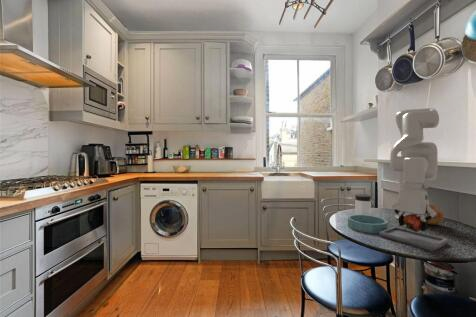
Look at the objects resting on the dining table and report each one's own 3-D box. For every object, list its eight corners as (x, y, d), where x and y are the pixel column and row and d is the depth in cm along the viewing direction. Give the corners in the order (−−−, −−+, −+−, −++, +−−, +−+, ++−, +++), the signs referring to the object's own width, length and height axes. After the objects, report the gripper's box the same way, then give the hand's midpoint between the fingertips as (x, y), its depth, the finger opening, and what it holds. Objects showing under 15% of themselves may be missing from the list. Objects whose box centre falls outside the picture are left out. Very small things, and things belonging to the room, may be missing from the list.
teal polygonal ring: (360, 220, 134) (360, 213, 133) (393, 228, 119) (393, 220, 119) (341, 225, 124) (341, 217, 124) (375, 235, 110) (375, 226, 110)
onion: (448, 226, 123) (449, 206, 123) (433, 228, 120) (434, 208, 120) (428, 220, 132) (428, 202, 132) (414, 222, 129) (415, 203, 129)
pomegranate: (413, 239, 100) (433, 225, 100) (401, 224, 101) (421, 210, 101) (403, 235, 108) (422, 222, 107) (392, 221, 109) (411, 208, 108)
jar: (374, 216, 141) (374, 196, 141) (365, 218, 137) (366, 197, 137) (360, 213, 149) (360, 193, 149) (351, 215, 145) (351, 194, 145)
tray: (394, 230, 117) (394, 226, 117) (447, 243, 100) (447, 239, 100) (379, 236, 109) (379, 231, 109) (434, 251, 92) (434, 246, 92)
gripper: (442, 188, 99) (441, 232, 99) (395, 183, 113) (394, 221, 114) (434, 189, 94) (433, 235, 95) (387, 184, 109) (386, 224, 109)
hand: (412, 227), depth 104 cm, fingers closed on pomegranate, 7 cm apart
